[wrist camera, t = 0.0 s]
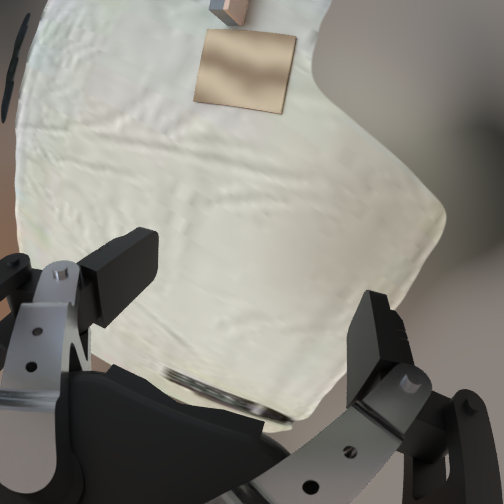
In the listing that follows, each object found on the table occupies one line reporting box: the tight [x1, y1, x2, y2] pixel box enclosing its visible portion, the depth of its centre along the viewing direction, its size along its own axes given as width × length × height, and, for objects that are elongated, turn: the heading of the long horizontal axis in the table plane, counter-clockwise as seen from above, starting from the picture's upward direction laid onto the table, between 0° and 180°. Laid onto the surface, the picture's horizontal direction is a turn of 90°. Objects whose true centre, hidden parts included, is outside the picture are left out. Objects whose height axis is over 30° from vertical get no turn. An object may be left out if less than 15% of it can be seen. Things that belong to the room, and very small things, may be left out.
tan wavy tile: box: [193, 29, 296, 114], centre depth 32 cm, size 11×12×1 cm
